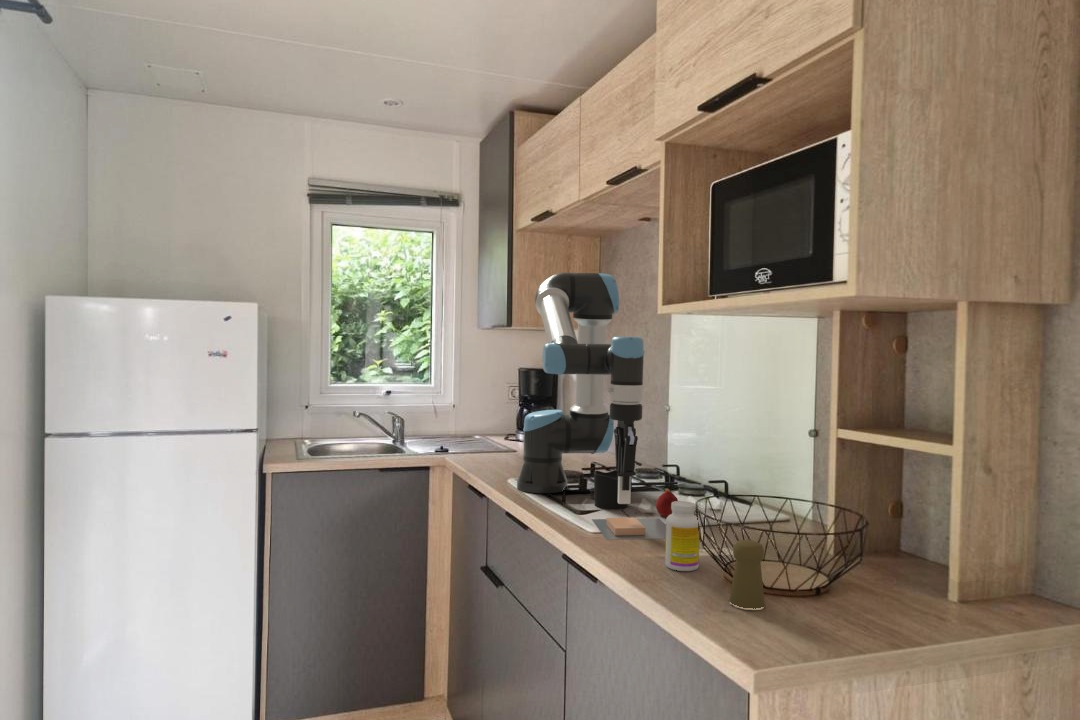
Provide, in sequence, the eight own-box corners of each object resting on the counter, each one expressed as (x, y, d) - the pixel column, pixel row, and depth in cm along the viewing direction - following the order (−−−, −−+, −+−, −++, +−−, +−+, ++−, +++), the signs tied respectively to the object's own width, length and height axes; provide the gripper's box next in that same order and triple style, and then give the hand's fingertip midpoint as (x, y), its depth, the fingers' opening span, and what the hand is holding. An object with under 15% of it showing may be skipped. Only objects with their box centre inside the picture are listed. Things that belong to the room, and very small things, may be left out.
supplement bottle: (705, 571, 138) (706, 506, 138) (675, 573, 136) (676, 508, 136) (688, 560, 145) (689, 498, 144) (659, 563, 143) (660, 500, 142)
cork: (739, 612, 118) (740, 547, 118) (722, 598, 124) (724, 537, 123) (772, 610, 119) (773, 546, 119) (754, 596, 125) (756, 535, 125)
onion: (678, 517, 179) (678, 486, 179) (680, 523, 173) (681, 491, 173) (655, 516, 180) (655, 485, 179) (656, 522, 174) (657, 490, 174)
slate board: (591, 524, 171) (591, 519, 171) (658, 523, 174) (658, 518, 173) (606, 544, 155) (606, 539, 155) (680, 543, 157) (681, 538, 157)
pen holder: (621, 516, 179) (622, 477, 179) (587, 511, 184) (588, 473, 183) (633, 508, 188) (634, 471, 187) (601, 504, 192) (602, 468, 192)
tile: (606, 517, 166) (615, 528, 157) (635, 517, 167) (645, 527, 158) (606, 525, 166) (615, 536, 157) (635, 524, 167) (645, 535, 158)
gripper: (604, 399, 169) (602, 496, 170) (616, 405, 156) (614, 510, 157) (634, 400, 170) (632, 496, 171) (649, 405, 157) (647, 509, 158)
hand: (623, 503), depth 164 cm, fingers closed
